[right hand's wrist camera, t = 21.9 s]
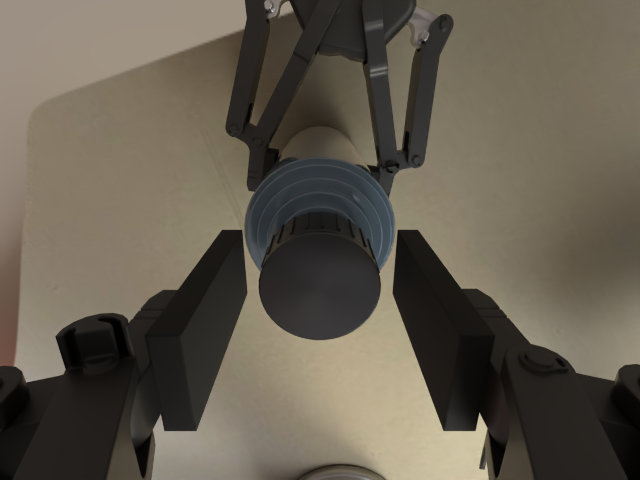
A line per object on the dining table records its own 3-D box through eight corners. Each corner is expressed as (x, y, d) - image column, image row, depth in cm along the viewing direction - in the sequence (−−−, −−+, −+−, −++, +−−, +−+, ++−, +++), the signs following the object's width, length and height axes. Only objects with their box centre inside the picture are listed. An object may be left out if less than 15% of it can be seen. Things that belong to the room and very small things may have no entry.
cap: (384, 220, 14) (396, 243, 12) (360, 313, 15) (366, 349, 13) (274, 200, 13) (265, 220, 11) (260, 297, 15) (250, 331, 13)
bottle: (275, 132, 33) (193, 197, 12) (353, 120, 33) (415, 163, 11) (289, 207, 36) (243, 372, 14) (361, 196, 35) (425, 349, 14)
